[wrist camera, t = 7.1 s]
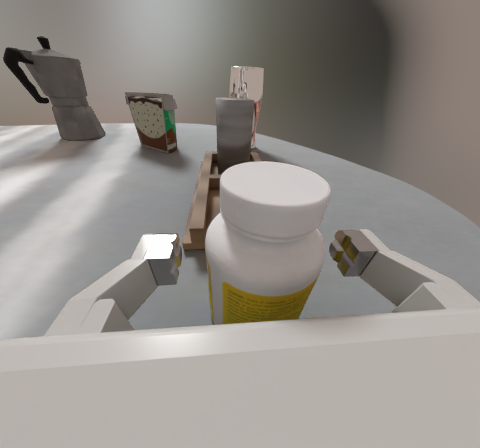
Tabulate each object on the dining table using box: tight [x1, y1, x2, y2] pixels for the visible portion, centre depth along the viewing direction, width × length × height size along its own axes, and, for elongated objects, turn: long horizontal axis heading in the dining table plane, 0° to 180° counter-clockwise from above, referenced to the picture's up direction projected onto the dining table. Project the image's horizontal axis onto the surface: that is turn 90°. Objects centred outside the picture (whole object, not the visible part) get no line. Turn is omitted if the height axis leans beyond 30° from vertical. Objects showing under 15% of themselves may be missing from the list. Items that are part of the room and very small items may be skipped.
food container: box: [125, 92, 177, 153], centre depth 40 cm, size 12×6×10 cm, turn 57°
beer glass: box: [230, 66, 264, 149], centre depth 41 cm, size 7×7×15 cm
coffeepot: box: [3, 36, 105, 141], centre depth 40 cm, size 15×9×18 cm, turn 171°
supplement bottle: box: [205, 161, 331, 325], centre depth 10 cm, size 5×5×10 cm
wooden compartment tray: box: [182, 98, 262, 250], centre depth 23 cm, size 22×11×11 cm, turn 5°
